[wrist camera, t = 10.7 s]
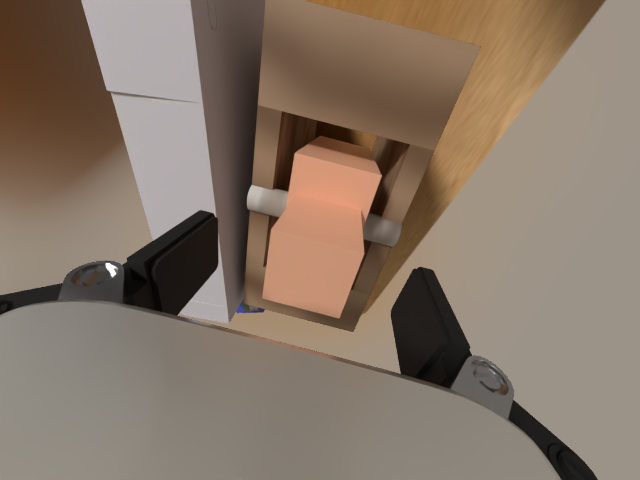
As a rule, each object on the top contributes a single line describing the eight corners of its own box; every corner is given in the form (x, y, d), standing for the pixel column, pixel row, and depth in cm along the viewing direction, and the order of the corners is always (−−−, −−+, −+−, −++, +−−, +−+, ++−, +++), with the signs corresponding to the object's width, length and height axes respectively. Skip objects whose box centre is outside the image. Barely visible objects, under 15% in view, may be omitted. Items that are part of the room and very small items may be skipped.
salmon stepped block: (320, 135, 23) (265, 172, 8) (369, 148, 23) (396, 207, 8) (304, 213, 27) (249, 325, 13) (345, 223, 27) (337, 348, 13)
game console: (250, 223, 39) (169, 313, 22) (242, 2, 25) (6, -232, 8) (284, 229, 39) (229, 324, 21) (293, 7, 25) (162, -223, 8)
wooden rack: (316, 60, 27) (260, -17, 11) (407, 84, 27) (488, 42, 11) (288, 224, 38) (239, 309, 22) (353, 241, 38) (353, 338, 22)
